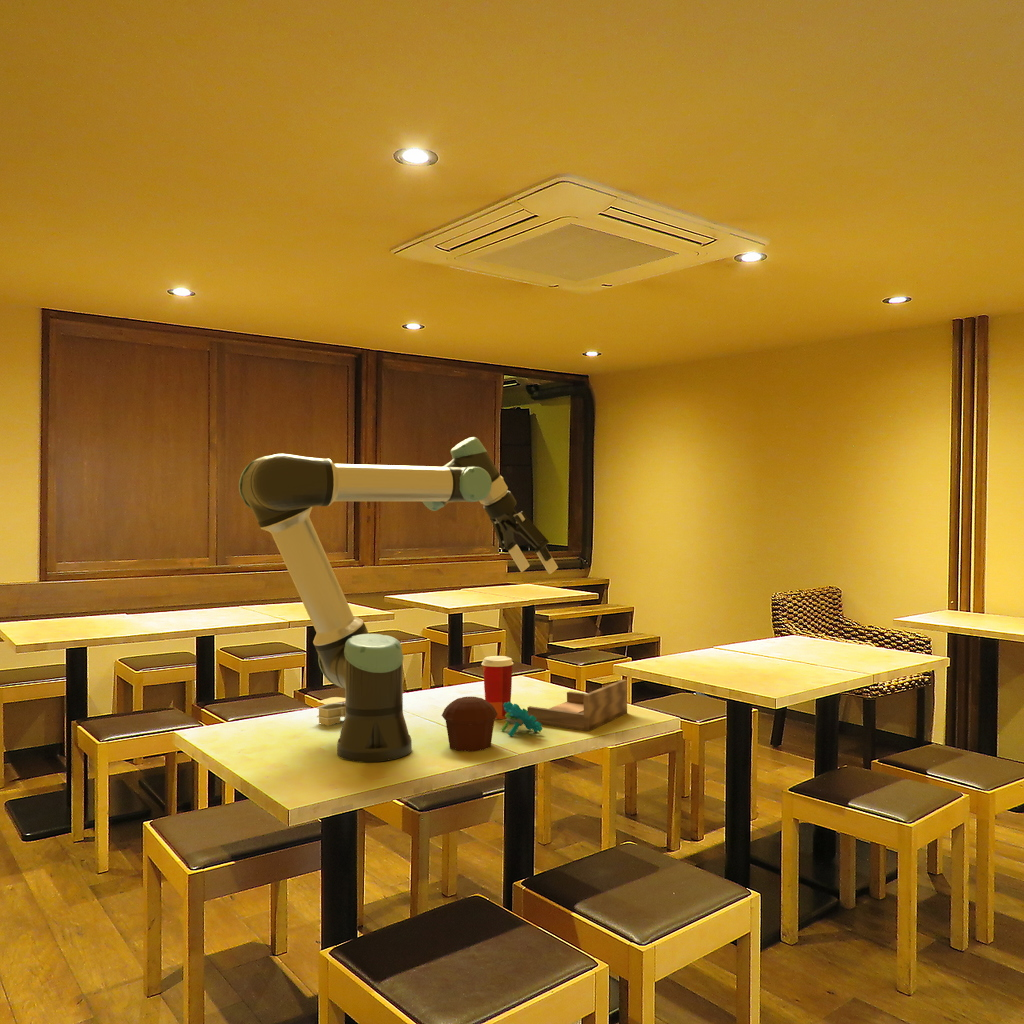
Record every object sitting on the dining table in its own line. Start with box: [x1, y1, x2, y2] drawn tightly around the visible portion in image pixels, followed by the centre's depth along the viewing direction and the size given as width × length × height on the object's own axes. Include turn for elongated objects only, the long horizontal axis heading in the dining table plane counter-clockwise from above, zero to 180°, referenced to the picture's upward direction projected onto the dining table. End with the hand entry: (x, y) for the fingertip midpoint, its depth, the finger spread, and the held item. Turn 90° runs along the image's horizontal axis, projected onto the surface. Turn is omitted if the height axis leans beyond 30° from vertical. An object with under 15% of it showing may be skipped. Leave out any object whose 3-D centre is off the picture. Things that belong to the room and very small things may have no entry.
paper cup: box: [481, 655, 514, 720], centre depth 205 cm, size 8×8×14 cm
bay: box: [526, 679, 628, 732], centre depth 203 cm, size 20×16×8 cm
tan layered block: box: [316, 696, 346, 726], centre depth 201 cm, size 10×9×6 cm
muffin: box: [441, 696, 498, 753], centre depth 180 cm, size 12×11×10 cm
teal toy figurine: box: [500, 702, 543, 737], centre depth 189 cm, size 11×6×10 cm
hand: (539, 569), depth 210 cm, fingers open, 13 cm apart
